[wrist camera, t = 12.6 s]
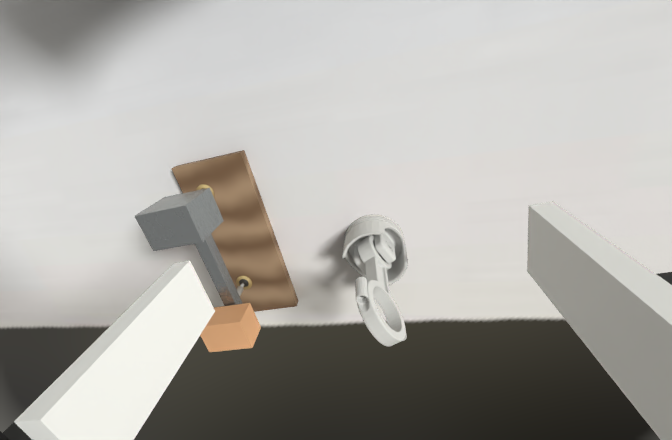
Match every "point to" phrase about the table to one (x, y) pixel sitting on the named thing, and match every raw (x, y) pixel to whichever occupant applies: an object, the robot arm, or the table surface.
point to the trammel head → (231, 327)
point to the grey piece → (190, 233)
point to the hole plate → (242, 229)
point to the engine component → (377, 273)
